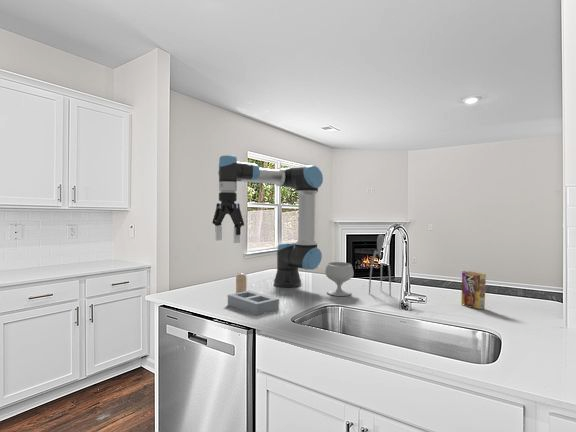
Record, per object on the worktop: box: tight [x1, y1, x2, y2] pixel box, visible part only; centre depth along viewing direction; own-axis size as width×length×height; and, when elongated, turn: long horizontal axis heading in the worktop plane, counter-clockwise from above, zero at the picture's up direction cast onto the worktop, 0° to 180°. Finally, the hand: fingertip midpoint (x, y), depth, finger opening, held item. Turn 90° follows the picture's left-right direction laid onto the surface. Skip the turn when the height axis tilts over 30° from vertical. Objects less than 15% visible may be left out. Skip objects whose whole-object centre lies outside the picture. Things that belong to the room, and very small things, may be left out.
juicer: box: [368, 233, 392, 296], centre depth 178 cm, size 10×9×30 cm
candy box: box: [460, 270, 487, 309], centre depth 158 cm, size 9×4×15 cm, turn 26°
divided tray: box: [227, 290, 280, 316], centre depth 153 cm, size 12×20×4 cm, turn 44°
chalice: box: [324, 261, 355, 297], centre depth 178 cm, size 14×14×15 cm
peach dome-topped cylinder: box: [235, 272, 248, 293], centre depth 172 cm, size 5×5×11 cm
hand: (227, 241), depth 153 cm, fingers open, 13 cm apart
